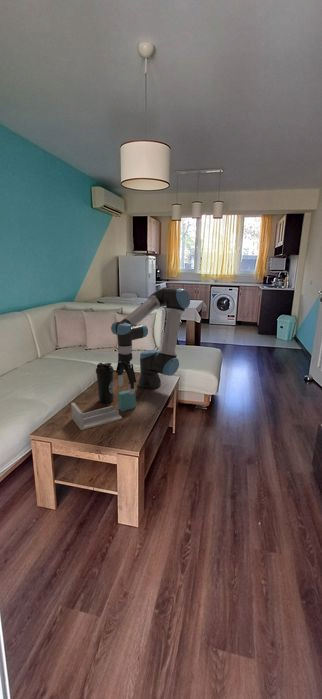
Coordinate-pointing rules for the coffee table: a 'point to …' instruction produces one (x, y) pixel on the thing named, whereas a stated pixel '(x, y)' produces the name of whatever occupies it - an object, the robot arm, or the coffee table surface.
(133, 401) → the teal sliding block
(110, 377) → the water bottle
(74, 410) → the track
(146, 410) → the coffee table surface
